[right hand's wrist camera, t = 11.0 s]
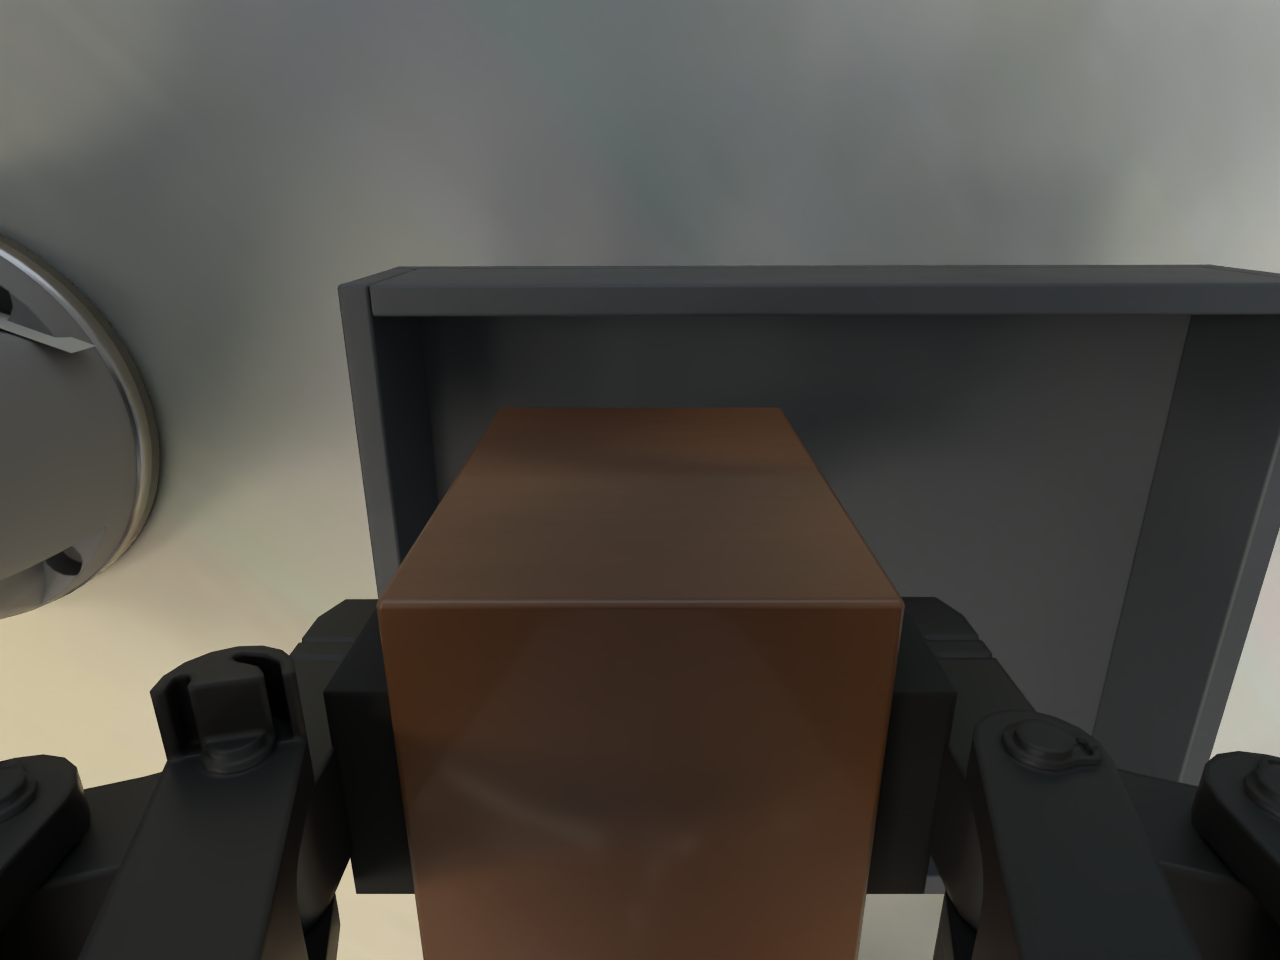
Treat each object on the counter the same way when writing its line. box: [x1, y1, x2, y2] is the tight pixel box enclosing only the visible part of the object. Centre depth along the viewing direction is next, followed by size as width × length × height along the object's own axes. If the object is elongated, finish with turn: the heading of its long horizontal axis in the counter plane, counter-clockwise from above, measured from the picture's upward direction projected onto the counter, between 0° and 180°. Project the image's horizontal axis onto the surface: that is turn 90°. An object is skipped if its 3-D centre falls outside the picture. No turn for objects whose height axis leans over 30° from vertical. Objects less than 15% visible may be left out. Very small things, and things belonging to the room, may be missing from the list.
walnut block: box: [376, 408, 905, 960], centre depth 11 cm, size 5×5×7 cm
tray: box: [338, 265, 1280, 894], centre depth 22 cm, size 19×35×6 cm, turn 0°
